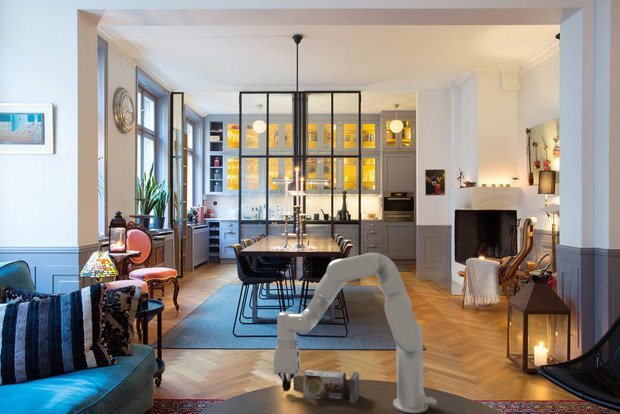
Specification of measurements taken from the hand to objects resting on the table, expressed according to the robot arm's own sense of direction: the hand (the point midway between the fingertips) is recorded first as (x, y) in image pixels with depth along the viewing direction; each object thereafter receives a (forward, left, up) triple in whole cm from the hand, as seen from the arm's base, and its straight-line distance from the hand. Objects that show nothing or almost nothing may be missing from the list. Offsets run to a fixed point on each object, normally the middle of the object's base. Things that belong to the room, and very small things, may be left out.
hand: (286, 390), depth 166 cm
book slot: (-15, 0, -2) cm, 15 cm away
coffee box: (-7, -1, +3) cm, 8 cm away
